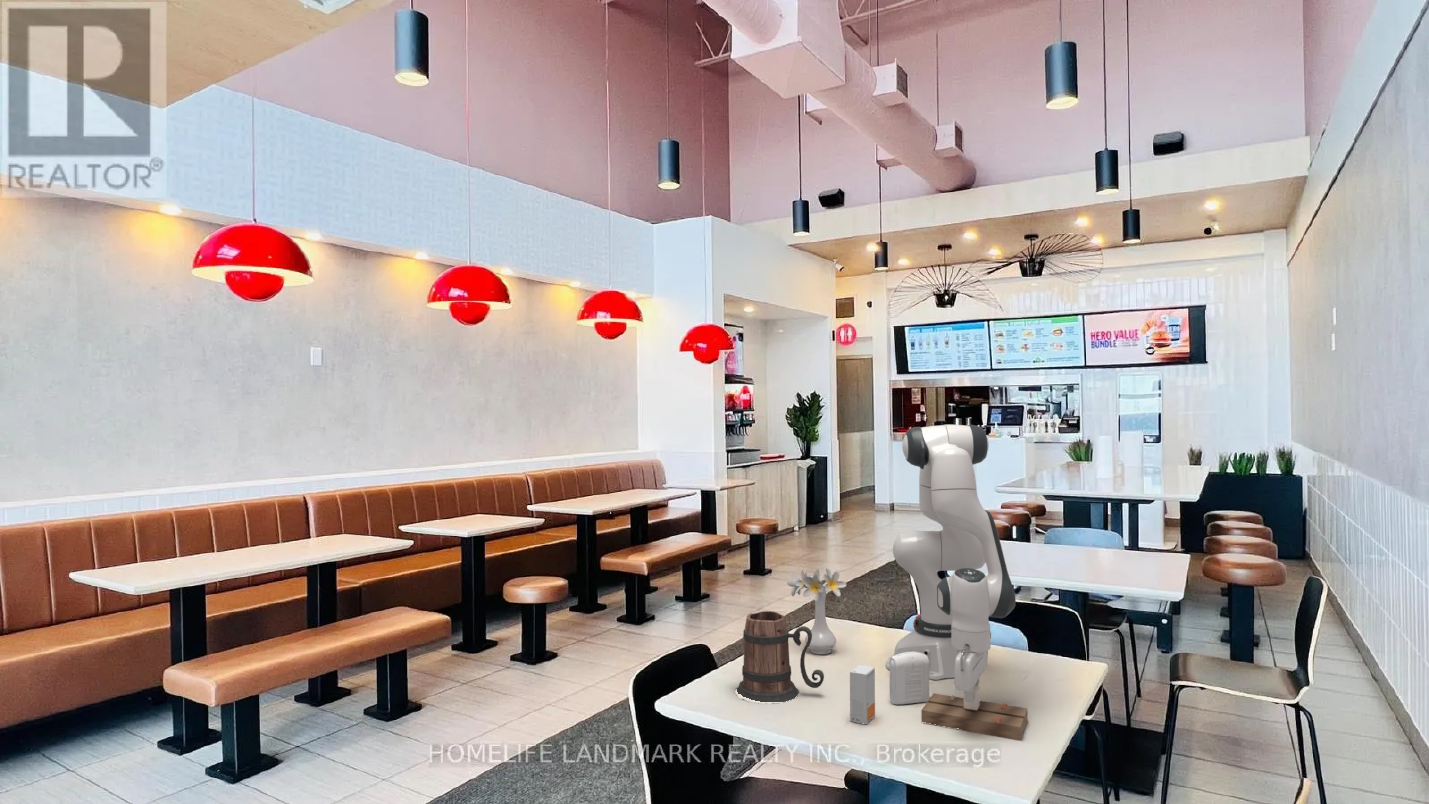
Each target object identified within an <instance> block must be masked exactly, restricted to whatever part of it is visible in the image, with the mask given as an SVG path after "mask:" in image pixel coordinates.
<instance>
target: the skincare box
mask: <svg viewBox="0 0 1429 804" xmlns="http://www.w3.org/2000/svg"><path fill="white" fill-rule="evenodd" d="M875 671H876V669H875V667H873V666H868V665H864V664H863V665H862V664H858V665H857V666H856V667H854V668H853V669H852V670H850V671H849V719H850V720H849V722H851V721H853V722H852V723H855V722H859V723H858V724H860V723H864V724H866V725H868V723H870V721H872V720H873V719H874V718H875V717H876V677H875V676H876V675H875V673H876V672H875ZM871 719H872V720H871ZM864 724H863V725H864Z"/></svg>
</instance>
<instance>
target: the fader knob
mask: <svg viewBox="0 0 1429 804" xmlns="http://www.w3.org/2000/svg"><path fill="white" fill-rule="evenodd" d="M980 689H981V688H980V686H979V685H978V686H974V688H973V693H974V701H973V702H972V703H970V702H966V701H965V693H964V692H963V698H964V708H966V709H970V710H976V711H977V710H978V708H979V706H980V701H981V700H980V699H981V698H980V697H981V696H980V694H981V693H980Z"/></svg>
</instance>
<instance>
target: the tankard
mask: <svg viewBox="0 0 1429 804" xmlns="http://www.w3.org/2000/svg"><path fill="white" fill-rule="evenodd" d="M785 616H786V615H784V614H781V613H780V612H776V611H773V610H772V611H771V610H770V611H769V610H764V611H762V610H761V611H759V612H753V613H749V614H748V615H747V616H746V619H745V625H744V629H743V634H742V636H743V665H742V667H741V668H742V669H741V674H742V675H741V676H742V680H741V681H740V683H739V685H738V686H737V687H736V689H737V692H738V694H741V695H742V696H743V697H746V698H749V699H751V700H755V701H760V702H783V703H787V702H790V701H792V699H793V700H795V699H796V698H797V697H798V696H799V695H798V694H800V691H799V689H798V688H797V687H796V685H795V683H794V682H793V680H791V679H792V678H791V676H792V666H791V665H790V662H791V661H790V648H789V647H790V644H789V639H790V638H792V640H793V641H794V644H796V645H797V646H798V647H800V646H801V645H802V641H801V632H805V633H806V636H807V635H808V641H807V643H806V642H805V646H804V647H803V649H802V652H801V654H800V660H799V663H800V664H799V667H800V673H801V676H802V679H803V680H804V683H805V684H806V685H807V686H808V687H810V688H813V689H818V688H819V687H820V686H822V684H823V682H824V679H825V673H824V671H822V670H821V669H815V670H813V672H812V673H811V679H812V680H813V681H812V680H811V679H810V677H809V676H808V674H807V671H806V666H805V665H806V664H805V658H806V653H807V650H808V648H809V645H810V643H811V640H812V632H811V630H812V629H810V627H807V626H805V625H802V626H799V627H798V628H796V629H795V630H794V632H793V633H790V632H789V629H788V627H787V621H786V617H785ZM816 675H817V676H819V678H820V679H819V680H818V677H816ZM814 681H817V682H814ZM797 695H798V696H797ZM796 696H797V697H796ZM795 697H796V698H795ZM789 700H790V701H789ZM786 701H787V702H786Z"/></svg>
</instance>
